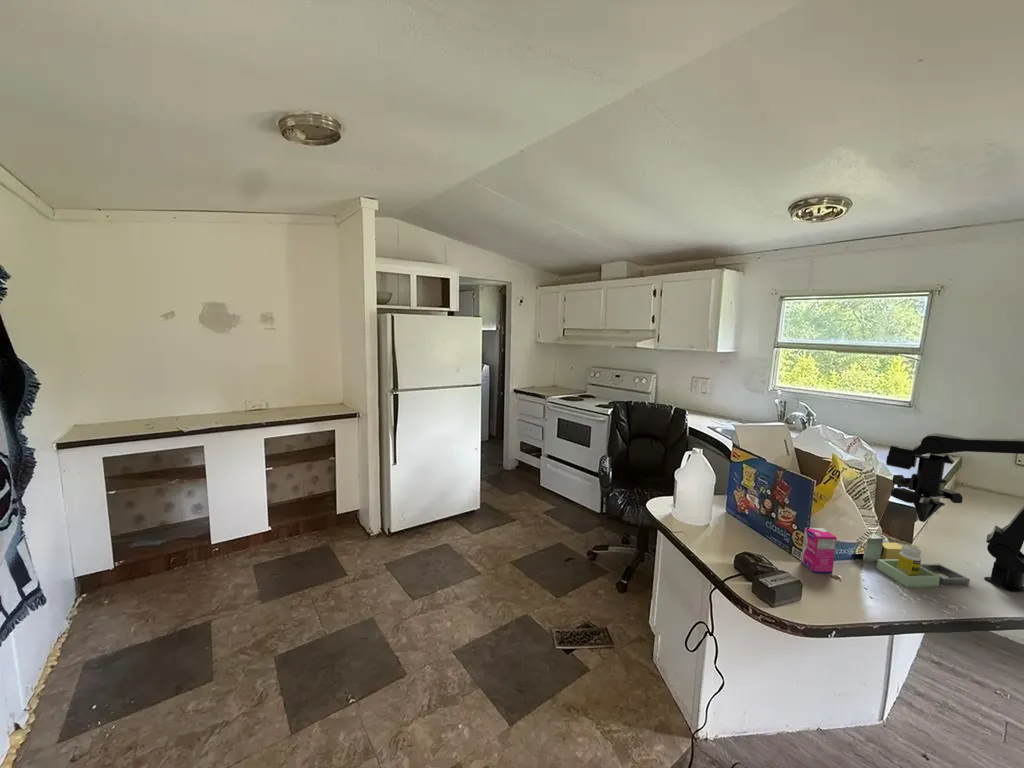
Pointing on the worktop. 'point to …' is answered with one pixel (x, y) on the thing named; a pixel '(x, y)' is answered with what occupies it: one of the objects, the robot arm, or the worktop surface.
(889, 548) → the block
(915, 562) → the supplement bottle
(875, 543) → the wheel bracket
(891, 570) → the tray
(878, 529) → the hook
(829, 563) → the supplement box
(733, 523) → the worktop surface
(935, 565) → the pin socket
